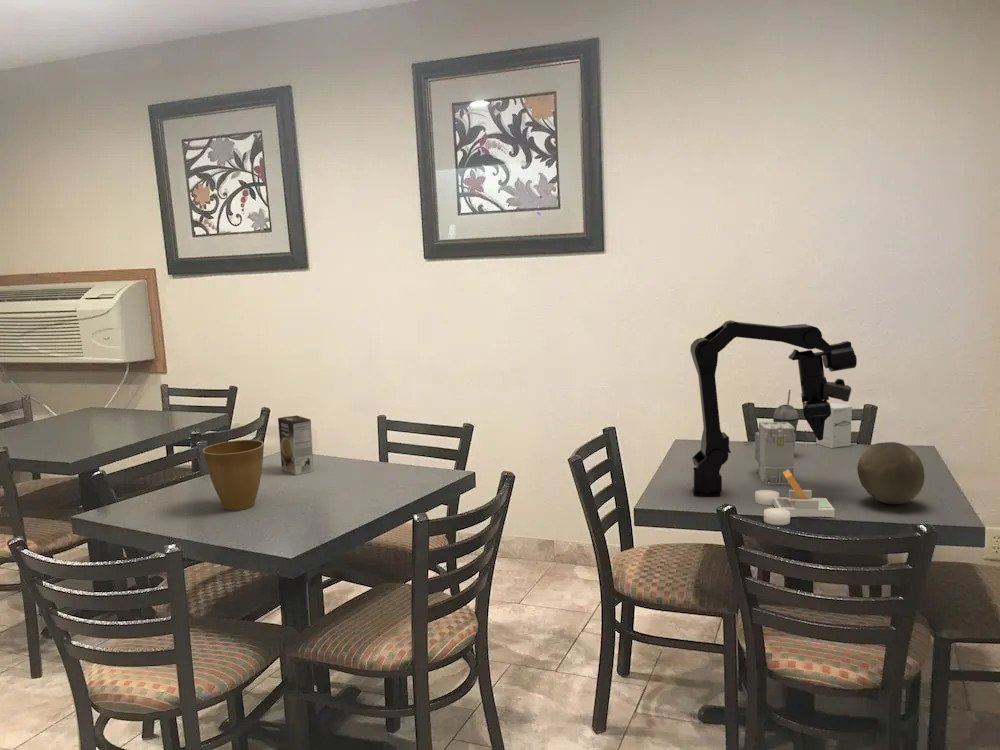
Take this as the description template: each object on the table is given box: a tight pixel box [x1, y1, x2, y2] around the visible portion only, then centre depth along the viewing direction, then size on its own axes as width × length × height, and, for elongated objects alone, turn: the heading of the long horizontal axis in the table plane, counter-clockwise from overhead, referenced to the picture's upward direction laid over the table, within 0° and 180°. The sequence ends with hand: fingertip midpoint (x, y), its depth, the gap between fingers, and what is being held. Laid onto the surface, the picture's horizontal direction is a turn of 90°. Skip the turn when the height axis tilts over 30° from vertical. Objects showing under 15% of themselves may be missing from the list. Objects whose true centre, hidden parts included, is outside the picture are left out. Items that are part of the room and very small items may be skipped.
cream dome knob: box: [754, 489, 780, 506], centre depth 197 cm, size 6×6×2 cm
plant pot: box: [202, 439, 265, 512], centre depth 207 cm, size 15×15×16 cm
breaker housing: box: [772, 489, 836, 518], centre depth 189 cm, size 12×9×4 cm
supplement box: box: [815, 402, 853, 449], centre depth 251 cm, size 7×7×13 cm
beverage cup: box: [772, 389, 799, 448], centre depth 239 cm, size 7×7×20 cm
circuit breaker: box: [754, 421, 796, 485], centre depth 218 cm, size 8×14×15 cm, turn 174°
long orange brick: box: [783, 470, 807, 499], centre depth 189 cm, size 2×5×8 cm
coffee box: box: [277, 414, 315, 476], centre depth 241 cm, size 9×6×16 cm
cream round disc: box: [763, 507, 791, 526], centre depth 183 cm, size 6×6×2 cm
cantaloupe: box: [856, 441, 926, 505], centre depth 192 cm, size 14×14×15 cm
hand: (819, 435), depth 203 cm, fingers open, 9 cm apart
